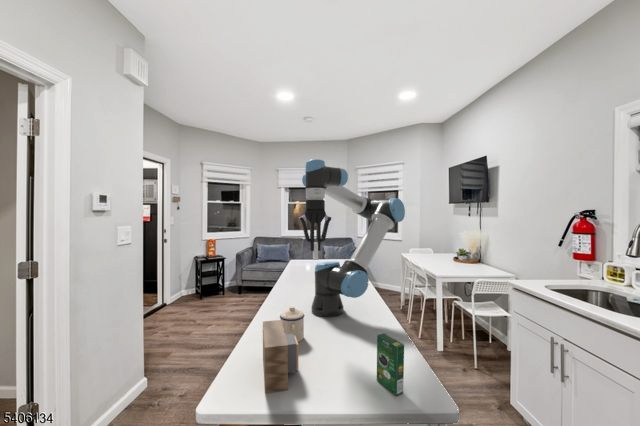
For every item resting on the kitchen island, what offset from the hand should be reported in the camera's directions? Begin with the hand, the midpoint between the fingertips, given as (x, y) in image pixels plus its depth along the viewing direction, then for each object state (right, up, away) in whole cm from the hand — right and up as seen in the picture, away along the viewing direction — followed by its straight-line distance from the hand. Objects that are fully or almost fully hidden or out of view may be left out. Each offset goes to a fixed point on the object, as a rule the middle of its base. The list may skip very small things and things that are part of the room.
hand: (315, 259), depth 114 cm
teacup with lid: (-8, -29, -8) cm, 31 cm away
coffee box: (+21, -29, -36) cm, 51 cm away
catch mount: (-12, -29, -29) cm, 43 cm away
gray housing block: (-9, -27, -28) cm, 41 cm away
